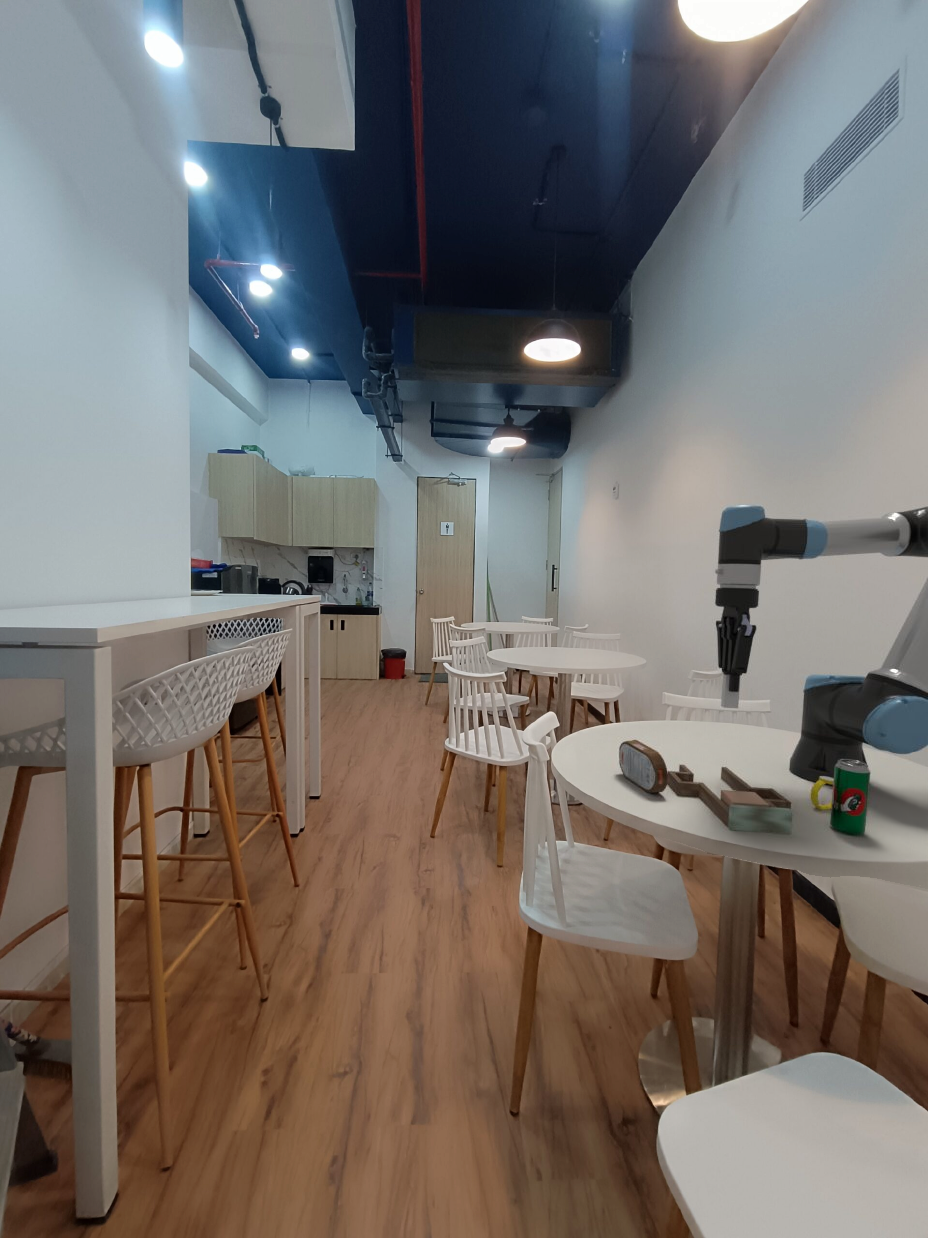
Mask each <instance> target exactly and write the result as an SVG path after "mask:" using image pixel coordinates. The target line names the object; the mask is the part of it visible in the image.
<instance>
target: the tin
mask: <svg viewBox="0 0 928 1238" xmlns="http://www.w3.org/2000/svg"><path fill="white" fill-rule="evenodd" d="M618 748H619V749H618V750H619V751H618V757H619V760H618V762H619V763H618V764H619V768H620V770H621V773H622V775H624V776H623V777H625V778H626V779H627V780H629V781H630V782H631V783H632V784H634V785H636V786H637V787H638V788H639V789H641V790H642V791H644V792H646V793H648V794H653V793H662V792H664V791H665V790H666V788H667V787H668V768H667V764H666V762H665V759H664V758H663V756H662V755H661V754H660V752H659V751H657V750H655V749H653V748H652V747H650V746H648V745H647V744H644V743H643V742H641V741H639V740H637V739H632V740H626V741H622V742H621V743H620V746H619V747H618Z"/></svg>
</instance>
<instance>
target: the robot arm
mask: <svg viewBox="0 0 928 1238" xmlns="http://www.w3.org/2000/svg"><path fill="white" fill-rule="evenodd" d="M765 511H766V510H765V508H764V507H763V506H761V505H754V504H742V505H741V504H739V505H731V506H728V507H726V508H725V509H723V510H722V512H721V518H720V524H719V529H718V533H719V538H718V559H717V560H718V561H717V568H715V570H714V572H715V574H716V584H717V585H719V587H717V588H716V589H715V603H714V604H715V606H717V607H720V608H723V609H722V614H721V618H720V620H716V621H715V627H716V633H717V639H716V640H717V663H718V664H717V665H718V667H717V668H719V669H721V672H722V686H721V687H722V688H721V702H720V706H721V707H722V708H725V709H739V702H740V701H739V700H740V686H741V676H742V675H743V674H745V675H746V674H747V673H748V668H749V663H750V656H751V651H752V646H753V640H754V636H755V634H756V632H757V625H756V624H751V615H750V609H756V608H758V607H759V601H760V599H759V598H760V591H759V589H758V588H757V586H760V585H761V573H762V572H761V571H762V561H771V560H784V559H798V560H808V559H809V560H810V559H811V560H812V559H817V558H818V557H828V556H829V557H830V556H844V555H845V556H848V555H863V554H881V555H883V556H885V557H915V558H917V557H918V558H928V506H923V507H919V508H915V509H910V510H905V511H897V512H896V511H894V512H888V513H885V514H884V515H882V516H881V517H875V518H862V519H861V518H859V519H846V520H845V519H843V520H842V519H841V520H827V521H825V520H824V521H819V520H812V519H807V518H803V519H801V518H798V519H797V518H796V519H795V518H792V519H791V518H769V517H766V513H765ZM802 703H803V704H802V716H801V717H802V718H801V730H800V731H801V732H800V738H799V740H798V742H797V744H796V746H795V748H794V751H793V753H792V755H791V757H790V759H789V771H790V772H791V773H793V774H794V775H796V776H798V777H800V778H803V779H806V780H809V781H812V782H815V783H816V782H817V781H818V780H819V777H820V776H826V777H831V778H834V769H835V765H836V764H837V763H838V760H839V759H851V760H856V761H860V762H863V763H866V764H867V765H868V763H867V759H866V756H865V753H864V752H865V751H864V749H863V744H866V745H868V746H871V747H872V748H874V749H876V750H879V751H882V752H883V751H885V752H888V753H892V754H896V755H909V754H912V753H916V752H919V751H921V750H923V749H925V748H927V746H928V577H927V578H926V580H925V582H924V584H923V586H922V588H921V590H920V592H919V594H918V595H917V597H916V600H915V601H914V603H913V605H912V607H911V609H910V611H909V613H908V615H907V617H906V619H905V621H904V623H903V624H902V627H901V628H900V630H899V632H898V634H897V636H896V638H895V640H894V641H893V643H892V645H891V648H890V650H889V652H888V653H887V656H886V657H885V659H884V661H883V663H882V665H881V667H879V668H878V669H874V670H871V671H869V672H867V675H866V676H863V675H862V676H860V675H842V674H840V675H838V674H837V675H835V674H834V675H833V674H811V675H809V676H807V677H806V679H805V683H804V689H803V702H802ZM825 785H828V786H829V785H830V786H833V784H827V783H826V784H825Z"/></svg>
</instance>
